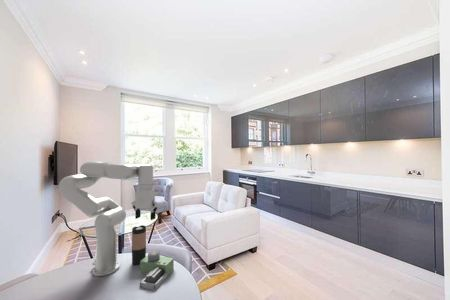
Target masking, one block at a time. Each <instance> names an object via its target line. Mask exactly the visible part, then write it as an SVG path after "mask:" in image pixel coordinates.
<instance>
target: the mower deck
mask: <svg viewBox="0 0 450 300" xmlns="http://www.w3.org/2000/svg"><path fill="white" fill-rule="evenodd" d="M157 267H159V268H160V269H162V277H161V278H160V279H159V280H158V281H157V282H156V283H155V284H154V283H149V282H146V276H145V277H144V278H143V279H142V280H141V281H140V282H139V287H141V288H145V289H148V290H154V291H155V290H157V289H158V287H159V286H161V285H162V283H163V282H164V281H165V280H166V279H167V278H168V276H170V274H171V273H173V271H174V258H173V257H168V256H161V252H160V251H159V250H153V251H150V252H149V253H147V255H146V257H145V258H144V259H142V260H141V261H140V265H139V273H141V274H146V275H148V274H149V273H150V272H151V271H152V270H153V269H154V268H157Z"/></svg>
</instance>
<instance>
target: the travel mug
mask: <svg viewBox="0 0 450 300" xmlns="http://www.w3.org/2000/svg"><path fill="white" fill-rule="evenodd" d="M146 252H147V226H146V225H140V226H134V227H132V229H131V263H132V265H133V266H140V261H141V260H142V259H144V258H145V257H146V256H147V254H146Z"/></svg>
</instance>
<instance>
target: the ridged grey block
mask: <svg viewBox="0 0 450 300" xmlns="http://www.w3.org/2000/svg"><path fill="white" fill-rule="evenodd" d="M145 277H146V282H149V283H154V284H155V283H156V282H157V281H158V280H159V279H160V278H161V277H162V269H160V268H159V267H157V268H154V269H153V270H152V271H151V272H150V273H149V274H146V275H145Z"/></svg>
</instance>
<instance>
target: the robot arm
mask: <svg viewBox="0 0 450 300" xmlns="http://www.w3.org/2000/svg"><path fill="white" fill-rule="evenodd" d="M79 173H81V174H79ZM79 173H78V174H72V175H68V176H65V177H63V178H62V179H61V180H60V181H59V183H58V184H59V185H58V190H59V193H60V195H61V196H62V197H63V198H64V199H66V200H67V201H68V202H69V203H71V204H72V205H74V206H75V207H76V208H77V209H78V210H80V211H81V213H83V214H84V215H86V216H87V217H89V218H95V217H96V218H95V220H94V229H95V234H96V235H95V236H96V242H95V243H96V251H95V254H96V255H95V257H96V258H95V259H94V261H93V262H92V263H91V265H92V266H94V269H93V270H92V275H93V276H94V277H106V276H109V275H111V274H113V273H115V272H116V271H117V270H118V269H120V265H121V264H120V262H118V261H117V252H118V250H117V249H118V248H117V245H118V244H117V243H118V240H117V239H118V236H117V231H116V230H115V227H116V226H118V225H119V224H121V223H122V222H124V221H125V220H126V218H127V213H126V210H125V209H124V208H123V207H122V206H121V205H119V204H118V203H117V202H116V201H115V200H113V199H112V198H111V197H108V196H101V197H99V198H98V197H94V196H93V195H92V194H90V193H89V192H87V191H85V190H82V189H86V188H90V187H92V186H94V185H95V184H96V183H97V182H98V181H99V180H101V178H107V179H112V180H129V179H134V178H137V181H138V182H137V185H136V188H137V189H136V191H135V197H134V200H133V201H132V202H131V205H132V208H133V211H134V212H135V219H136V220H137V219H139V218H141V211H142V210H150V211H151V212H150V221H153V220H155V219H156V212H157V211H158V210H159V207H160V205H161V204H160V203H159V202H158V201H156V196H155V189H154V166H153V165H152V164H136V163H133V164H131V163H130V164H114V163H112V162H108V161H107V162H104V161H87V162H84V163H83V164H81V165H80V168H79Z"/></svg>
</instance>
